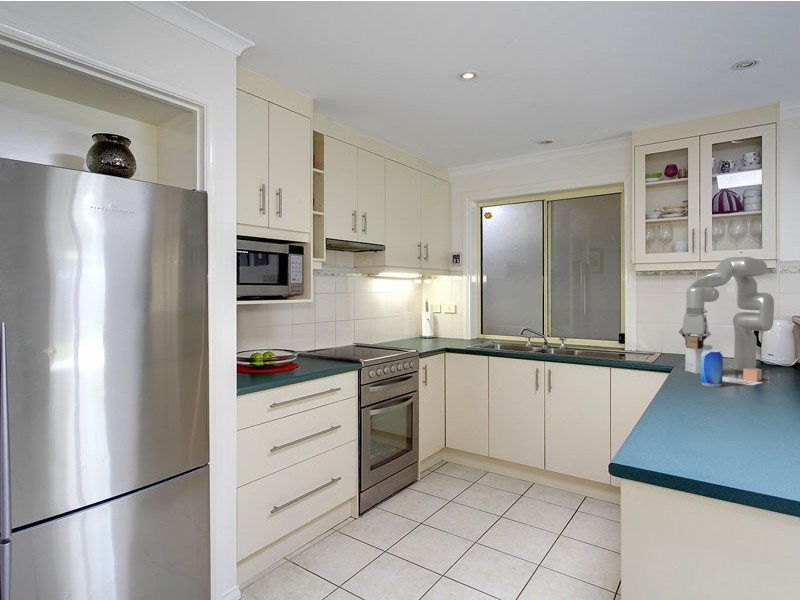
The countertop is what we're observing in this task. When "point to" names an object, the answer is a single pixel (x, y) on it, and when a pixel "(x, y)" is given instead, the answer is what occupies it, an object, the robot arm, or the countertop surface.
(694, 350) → the supplement box
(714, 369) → the beer can
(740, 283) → the robot arm
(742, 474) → the countertop surface
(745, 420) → the countertop surface
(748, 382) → the letter
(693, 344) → the walnut block
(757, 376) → the terracotta cube
